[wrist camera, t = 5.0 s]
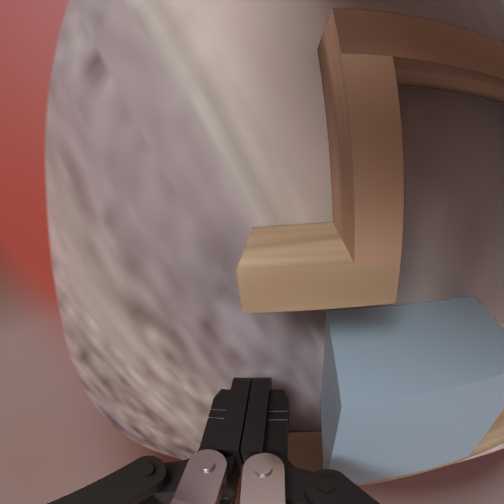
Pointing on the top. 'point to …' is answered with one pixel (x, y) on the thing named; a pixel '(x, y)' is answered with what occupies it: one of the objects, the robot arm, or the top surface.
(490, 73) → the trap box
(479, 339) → the block
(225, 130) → the top surface
